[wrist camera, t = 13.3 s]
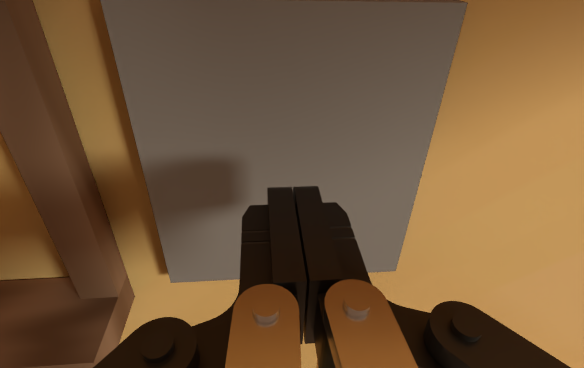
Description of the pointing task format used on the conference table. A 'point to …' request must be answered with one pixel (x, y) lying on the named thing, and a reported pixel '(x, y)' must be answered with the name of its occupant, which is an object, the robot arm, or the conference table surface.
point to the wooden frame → (55, 215)
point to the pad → (280, 113)
